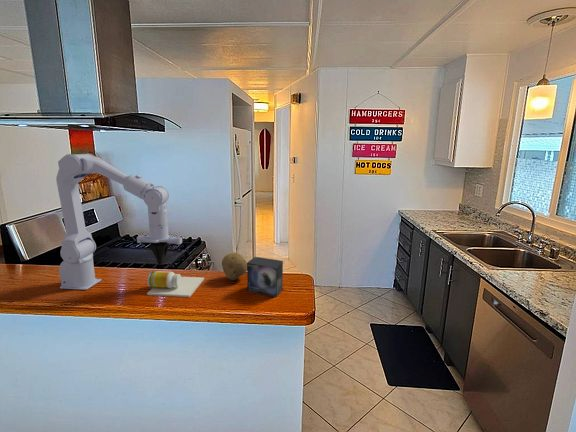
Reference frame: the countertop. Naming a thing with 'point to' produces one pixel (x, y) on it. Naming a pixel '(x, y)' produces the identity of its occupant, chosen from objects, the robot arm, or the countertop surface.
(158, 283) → the supplement bottle
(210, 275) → the countertop surface
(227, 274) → the natural sponge
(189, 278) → the mat
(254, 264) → the small box
